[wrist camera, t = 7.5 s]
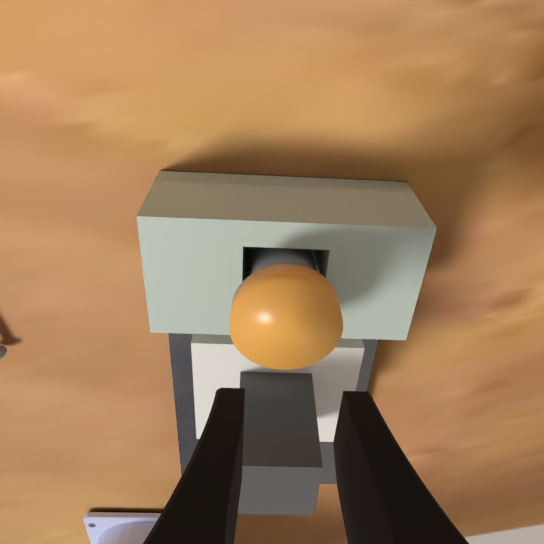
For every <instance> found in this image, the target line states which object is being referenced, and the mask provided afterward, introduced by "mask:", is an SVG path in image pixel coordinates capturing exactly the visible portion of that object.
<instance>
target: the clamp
mask: <svg viewBox="0 0 544 544" xmlns="http://www.w3.org/2000/svg"><path fill="white" fill-rule="evenodd" d="M6 352H7V349H6V347H4V346H0V359H1V358H2V357H3V356H4V355H5V354H6Z"/></svg>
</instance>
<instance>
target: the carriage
mask: <svg viewBox="0 0 544 544" xmlns="http://www.w3.org/2000/svg"><path fill="white" fill-rule="evenodd" d="M364 349H365V348H364V344H363V340H362V339H347V338H340V341H339V342H338V344H337V346H336V347H335V348H334V350H333V351H332V352H331V353H330V354H329V355H327V356H326V357H325V358H323V359H322V360H320V361H318V362H317V363H315V364H312V365H310V366H307V367H303V368H299V369H292V370H278V369H271V368H267V367H263V366H260V365H258V364H255V363H254V362H252V361H250V360H248V359H247V358H246V357H244V356H243V355H242V354H241V353H240V352H239V351H238V350H237V348H236V347H235V345H234V343H233V341H232V339H231V335H217V334H193V335H192V340H191V353H192V370H193V387H194V405H195V422H196V439H200V437H201V435H202V432H203V430H204V427H205V425H206V422H207V419H208V417H209V414H210V411H211V408H212V405H213V401H214V398H215V393H216V390H218V389H219V388H245V403H244V438H243V463H242V483H241V491H240V498H239V506H238V514H256V515H314V512H315V506H316V501H317V495H318V490H319V484H320V479H321V473H322V468H323V467H322V458H321V449H320V442H333V441H334V436H335V431H336V426H337V421H338V415H339V410H340V405H341V400H342V395H343V391H356V386H357V382H358V377H359V372H360V368H361V363H362V358H363V354H364Z"/></svg>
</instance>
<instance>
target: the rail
mask: <svg viewBox="0 0 544 544" xmlns="http://www.w3.org/2000/svg"><path fill="white" fill-rule="evenodd" d="M386 182H387V181H386ZM390 182H391V181H390ZM395 182H397V181H395ZM395 182H394V183H395ZM399 182H400V181H399ZM402 183H403V182H402ZM406 183H407V182H406ZM250 249H251V250H250ZM254 250H255V247H245V264H247V265H246V266H245V268H244V269H245V270H244V271H248V272H249V271H250V272H251V270H250V269H251V261H252V255H253V252H254ZM249 251H250V252H249ZM311 251H312V254H313V259H314V265H315V259H316V251H317V249H311ZM247 252H248V254H247ZM249 259H250V260H249ZM192 335H193V334H184V333H169V343H170V354H171V365H172V376H173V387H174V398H175V408H176V419H177V430H178V441H179V452H180V463H181V473H182V475H183V473H184V471H185V469H186V467H187V465H188V463H189V461H190V459H191V457H192V454H193V452H194V450H195V448H196V446H197V444H198V441H199V439H196V422H195V405H194V387H193V370H192V353H191V340H192ZM362 340H363V344H364V348H365V349H364V354H363V358H362V363H361V368H360V372H359V377H358V382H357V386H356V391H367V387H368V383H369V379H370V375H371V370H372V366H373V362H374V358H375V353H376V349H377V345H378V341H379V339H362ZM320 449H321V458H322V467H323V468H322V473H321V479H320V484H337V481H336V470H335V459H334V446H333V442H320Z"/></svg>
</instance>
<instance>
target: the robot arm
mask: <svg viewBox="0 0 544 544" xmlns="http://www.w3.org/2000/svg"><path fill="white" fill-rule="evenodd" d="M244 403H245V388H219V389H218V390H216V393H215V398H214V401H213V405H212V408H211V411H210V414H209V417H208V419H207V422H206V425H205V427H204V430H203V432H202V435H201V437H200V439H199V441H198V444H197V446H196V448H195V450H194V452H193V454H192V457H191V459H190V461H189V463H188V465H187V467H186V469H185V471H184V473H183V475H182V477H181V479H180V481H179V482H178V484H177V486H176V488H175V490H174V492H173V494H172V496H171V497H170V499H169V501H168V503H167V505H166V506H165V508H164V510H163V511H162V513H121V512H89V513H86V514H85V517H84V524H85V527H86V530H87V533H88V536H89V539H90V543H91V544H234V536H235V529H236V521H237V514H238V506H239V498H240V491H241V483H242V463H243V438H244ZM333 446H334V459H335V470H336V481H337V487H338V493H339V498H340V503H341V509H342V514H343V519H344V524H345V529H346V534H347V540H348V544H469V543H468V542H467V541H466V540H465V538H464V537H463V536H462V535H461V533H460V532H459V531H458V530H457V528H456V527H455V526H454V524H453V523H452V522H451V521H450V519H449V518H448V517H447V515H446V514H445V513H444V511H443V510H442V509H441V507H440V506H439V504H438V503H437V502H436V500H435V499H434V497H433V496H432V495H431V493H430V492H429V491H428V489H427V488H426V486H425V485H424V483H423V482H422V480H421V479H420V477H419V476H418V474H417V473H416V471H415V470H414V468H413V467H412V465H411V464H410V462H409V461H408V459H407V457H406V456H405V454H404V453H403V451H402V450H401V448H400V446H399V445H398V443H397V441H396V440H395V438H394V436H393V435H392V433H391V431H390V430H389V428H388V426H387V424H386V423H385V421H384V419H383V417H382V415H381V414H380V412H379V410H378V408H377V406H376V404H375V402H374V400H373V398H372V396H371V395H370V394H369V393H368V392H367V391H343V395H342V400H341V405H340V410H339V415H338V421H337V426H336V431H335V436H334V441H333Z"/></svg>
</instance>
